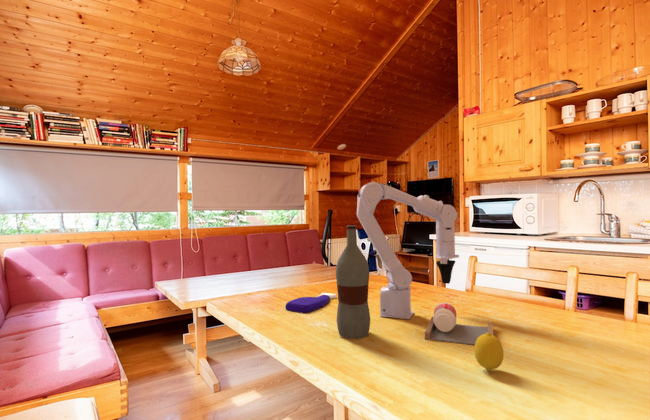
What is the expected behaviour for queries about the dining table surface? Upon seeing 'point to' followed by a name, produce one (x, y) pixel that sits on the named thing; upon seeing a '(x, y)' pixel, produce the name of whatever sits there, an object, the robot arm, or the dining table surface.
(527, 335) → the dining table surface
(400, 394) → the dining table surface
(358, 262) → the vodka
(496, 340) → the lemon
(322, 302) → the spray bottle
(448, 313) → the pill bottle
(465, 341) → the grey tray
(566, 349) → the dining table surface
